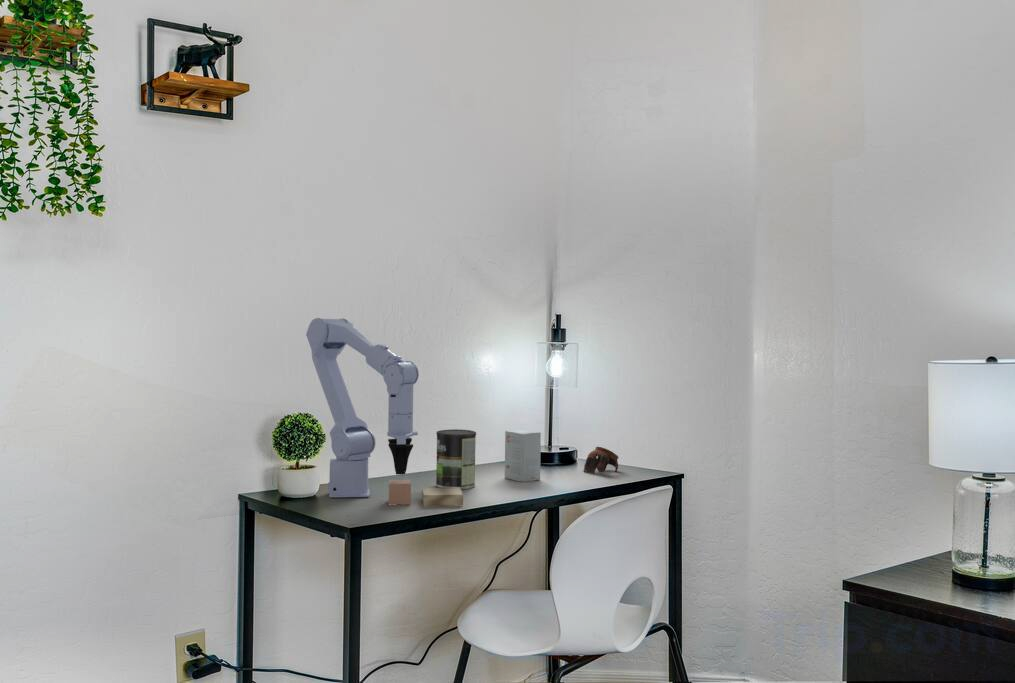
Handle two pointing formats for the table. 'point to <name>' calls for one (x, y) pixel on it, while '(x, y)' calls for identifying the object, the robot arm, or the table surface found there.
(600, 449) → the brown arch
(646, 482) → the table surface
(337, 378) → the robot arm
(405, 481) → the terracotta cube
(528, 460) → the small box
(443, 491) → the oak block
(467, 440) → the coffee can
